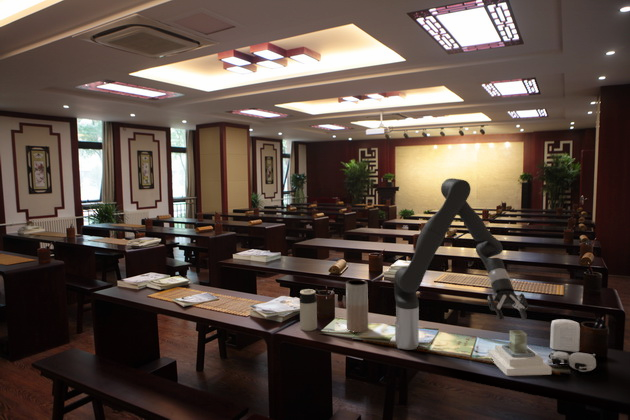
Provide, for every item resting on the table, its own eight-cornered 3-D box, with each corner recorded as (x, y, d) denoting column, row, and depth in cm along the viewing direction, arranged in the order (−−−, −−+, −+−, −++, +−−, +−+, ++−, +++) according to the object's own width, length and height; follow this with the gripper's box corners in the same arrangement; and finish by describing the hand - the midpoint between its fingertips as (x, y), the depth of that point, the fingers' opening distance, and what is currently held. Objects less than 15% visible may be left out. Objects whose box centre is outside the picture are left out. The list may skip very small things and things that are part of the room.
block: (514, 354, 153) (514, 334, 153) (509, 349, 157) (509, 330, 157) (526, 353, 153) (526, 334, 153) (521, 349, 157) (521, 330, 157)
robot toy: (546, 369, 154) (594, 378, 144) (545, 357, 153) (594, 365, 144) (551, 357, 163) (597, 364, 154) (551, 346, 163) (597, 352, 154)
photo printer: (577, 348, 168) (578, 319, 167) (580, 353, 164) (581, 322, 163) (548, 346, 171) (549, 317, 170) (551, 350, 167) (552, 320, 166)
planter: (353, 323, 202) (352, 278, 200) (371, 327, 196) (371, 280, 194) (342, 330, 194) (341, 282, 192) (361, 334, 188) (360, 285, 186)
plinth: (506, 375, 148) (507, 359, 147) (487, 356, 164) (487, 341, 163) (551, 374, 148) (551, 358, 147) (527, 354, 164) (528, 340, 163)
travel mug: (320, 326, 199) (319, 290, 198) (311, 332, 192) (310, 294, 191) (306, 324, 203) (305, 288, 202) (297, 329, 197) (296, 292, 195)
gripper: (485, 277, 165) (498, 315, 155) (521, 277, 165) (536, 314, 155) (480, 287, 171) (491, 324, 161) (514, 286, 171) (528, 323, 161)
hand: (513, 319), depth 158 cm, fingers open, 8 cm apart
